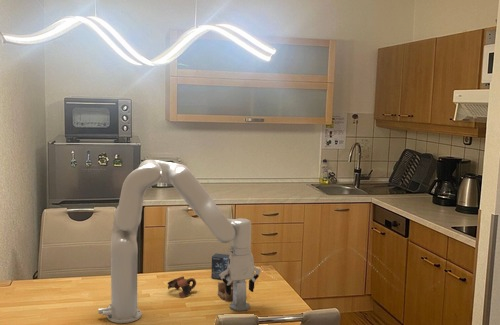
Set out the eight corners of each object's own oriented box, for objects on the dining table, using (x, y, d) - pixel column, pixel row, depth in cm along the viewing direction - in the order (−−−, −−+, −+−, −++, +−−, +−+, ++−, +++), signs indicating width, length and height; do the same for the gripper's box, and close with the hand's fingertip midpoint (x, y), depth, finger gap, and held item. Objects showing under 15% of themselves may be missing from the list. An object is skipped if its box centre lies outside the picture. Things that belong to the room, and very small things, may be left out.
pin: (236, 308, 205) (237, 280, 203) (232, 303, 209) (232, 276, 208) (246, 306, 207) (246, 279, 205) (241, 302, 211) (242, 275, 209)
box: (211, 278, 239) (211, 256, 238) (215, 274, 245) (215, 252, 243) (227, 280, 237) (227, 258, 236) (231, 276, 242) (231, 254, 241)
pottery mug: (174, 301, 214) (167, 281, 216) (170, 302, 223) (164, 284, 224) (201, 290, 218) (194, 271, 220) (196, 292, 227) (190, 274, 229)
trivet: (234, 312, 203) (234, 310, 203) (226, 304, 210) (226, 302, 210) (252, 309, 206) (253, 307, 206) (244, 302, 213) (245, 300, 213)
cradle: (224, 301, 213) (224, 289, 213) (216, 293, 222) (216, 282, 221) (245, 298, 217) (245, 286, 216) (237, 290, 225) (237, 279, 225)
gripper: (223, 255, 198) (222, 298, 200) (265, 251, 205) (263, 292, 207) (216, 249, 205) (216, 291, 207) (257, 245, 212) (255, 286, 214)
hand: (239, 292), depth 207 cm, fingers open, 9 cm apart
